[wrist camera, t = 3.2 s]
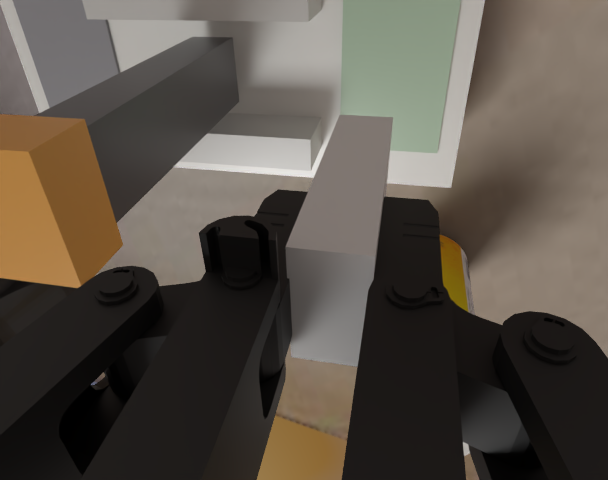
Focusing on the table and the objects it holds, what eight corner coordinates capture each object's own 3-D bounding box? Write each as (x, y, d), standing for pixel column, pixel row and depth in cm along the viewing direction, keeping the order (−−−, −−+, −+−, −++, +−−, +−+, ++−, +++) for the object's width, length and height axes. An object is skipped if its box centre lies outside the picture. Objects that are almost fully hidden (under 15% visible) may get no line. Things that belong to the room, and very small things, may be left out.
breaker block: (115, 119, 34) (22, 179, 26) (64, -74, 27) (-84, -73, 19) (445, 138, 30) (454, 217, 22) (481, -87, 23) (513, -92, 15)
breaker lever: (195, 107, 24) (-10, 276, 12) (183, 27, 21) (-81, 143, 10) (247, 109, 23) (82, 288, 12) (240, 28, 21) (28, 151, 10)
